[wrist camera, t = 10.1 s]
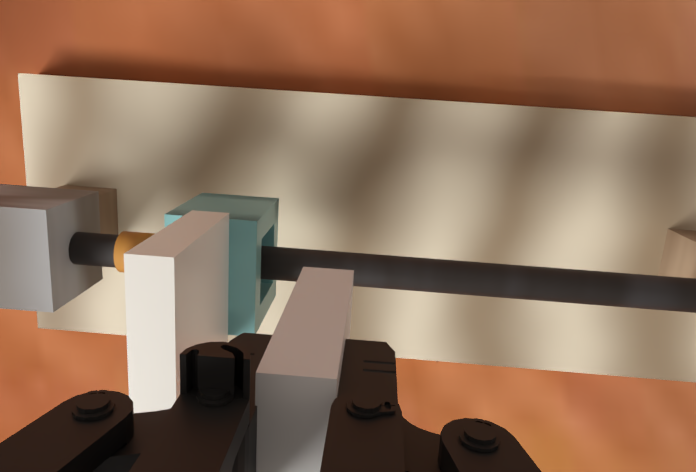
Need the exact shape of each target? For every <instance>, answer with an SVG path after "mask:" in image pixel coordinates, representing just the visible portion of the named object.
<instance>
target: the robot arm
mask: <svg viewBox="0 0 696 472" xmlns="http://www.w3.org/2000/svg"><path fill="white" fill-rule="evenodd" d="M353 278H354V270H343V269H329V268H315V267H303V268H302V271H301V273H300V275H299V277H298V280H297V282H296V284H295V286H294V288H293V291H292V293H291V295H290V297H289V300H288V302H287V304H286V306H285V308H284V311H283V313H282V315H281V317H280V319H279V322H278V324H277V326H276V328H275V331H274V333H273V335H269V334H256V333H242V334H240V335H238V336H237V337H235V338H233V339H232V340H230V341H229V342H206V343H201V344H196V345H194V346H191V347H189V348H186V349H185V350H184V351H183V352H181V353H180V395H179V397H178V398H177V400H176V401H175V403H174V404H173V406H172V407H171V408H170V409H166V410H160V411H152V412H142V413H134V408H133V401H132V400H131V399H130V397H129V396H127V395H125V394H123V393H120V392H115V391H107V390H99V391H97V390H96V391H90V392H87V393H85V394H81V395H77V396H75V397H73V398H71V399H69V400H67V401H64V402H63V403H61V404H60V405H58V406H57V407H55V408H53V409H52V410H50V411H49V412H47V413H46V414H44V415H43V416H41V417H40V418H38V419H37V420H35V421H34V422H32V423H30V424H29V425H27V426H26V427H24V428H23V429H21V430H20V431H18V432H17V433H15V434H14V435H12V436H10V437H9V438H7V439H6V440H4V441H3V442H1V443H0V472H541V471H540V469H539V468H538V467H537V466H536V464H535V463H534V462H533V460H532V459H531V458H530V457H529V455H528V454H527V453H526V451H525V450H524V449H523V448H522V446H521V445H520V444H519V442H518V441H517V440H516V438H515V437H514V436H513V435H511V434H510V433H509V432H508V431H507V430H506V429H504V428H502V427H500V426H498V425H496V424H494V423H492V422H489V421H486V420H485V421H484V420H482V419H469V418H464V419H458V420H453V421H451V422H449V423H448V424H446V425H444V427H443V429H442V431H441V434H440V435H439V434H435V433H432V432H428V431H426V430H423V429H420V428H418V427H416V426H414V425H412V424H411V423H409V422H408V421H407V420H406V419H404V418H403V416H402V411H401V409H400V406H399V404H398V399H397V379H396V359H395V351H394V350H393V349H392V348H391V347H390V346H389V345H388V343H387V342H380V341H367V340H354V339H350V326H351V310H352V294H353Z"/></svg>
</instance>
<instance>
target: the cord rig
mask: <svg viewBox="0 0 696 472" xmlns="http://www.w3.org/2000/svg"><path fill="white" fill-rule="evenodd" d="M18 82H19V94H20V107H21V119H22V132H23V145H24V157H25V170H26V182H27V186H20V185H7V184H0V308H3V309H16V310H28V311H37V321H38V328H44V329H56V330H69V331H81V332H93V333H105V334H117V335H127V329H126V303H125V276H124V253H125V252H127V251H129V250H130V249H132V248H133V247H135V246H136V245H138V244H140V243H141V242H143V241H144V240H146V239H148V238H149V237H151V236H152V235H154V234H155V233H157V232H159V231H160V230H162V229H163V228H165V220H164V214H166V213H168V212H169V211H171V210H173V209H175V208H176V207H178V206H180V205H181V204H183V203H185V202H187V201H188V200H190V199H192V198H194V197H195V196H197V195H199V194H201V193H214V194H228V195H242V196H256V197H270V198H279V210H278V241H277V247H273V246H261V279H268V280H276V296H275V298H274V300H273V302H272V304H271V306H270V308H269V310H268V312H267V314H266V315H265V317H264V319H263V321H262V323H261V325H260V327H259V329H258V331H257V333H256V334H269V335H273V333H274V331H275V328H276V326H277V324H278V322H279V319H280V317H281V315H282V313H283V311H284V308H285V306H286V304H287V302H288V300H289V297H290V295H291V293H292V291H293V288H294V286H295V284H296V282H297V280H298V277H299V275H300V273H301V271H302V268H303V267H315V268H329V269H343V270H354V278H353V294H352V310H351V326H350V339H354V340H367V341H380V342H387V343H388V345H389V346H390V347H391V348H392V349H393V350H394V351H395V358H407V359H419V360H431V361H444V362H456V363H468V364H480V365H492V366H504V367H516V368H528V369H540V370H552V371H565V372H577V373H589V374H601V375H613V376H625V377H637V378H649V379H661V380H673V381H686V382H696V117H689V116H674V115H659V114H643V113H628V112H612V111H597V110H582V109H566V108H551V107H535V106H520V105H505V104H489V103H474V102H458V101H443V100H428V99H412V98H397V97H381V96H366V95H351V94H335V93H320V92H304V91H289V90H274V89H258V88H243V87H227V86H212V85H197V84H181V83H166V82H151V81H135V80H120V79H104V78H89V77H74V76H58V75H43V74H23V73H18ZM235 337H237V336H236V335H228V341H227V342H229V341H230V340H232V339H233V338H235Z"/></svg>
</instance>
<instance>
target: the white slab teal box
mask: <svg viewBox="0 0 696 472" xmlns="http://www.w3.org/2000/svg"><path fill="white" fill-rule="evenodd" d="M278 210H279V198H270V197H256V196H242V195H228V194H214V193H201V194H199V195H197V196H195V197H194V198H192V199H190V200H188V201H187V202H185V203H183V204H181V205H180V206H178V207H176V208H175V209H173V210H171V211H169V212H168V213H166V214H164V220H165V228H163V229H162V230H160V231H159V232H157V233H155V234H154V235H152V236H151V237H149V238H148V239H146V240H144V241H143V242H141V243H140V244H138V245H136V246H135V247H133V248H132V249H130V250H129V251H127V252H125V253H124V276H125V303H126V329H127V356H128V383H129V397H130V399H131V400H132V401H133V408H134V413H142V412H152V411H160V410H166V409H170V408H171V407H172V406H173V404H174V403H175V401H176V400H177V398H178V397H179V395H180V353H181V352H183V351H184V350H185V349H186V348H189V347H191V346H194V345H196V344H201V343H206V342H227V341H228V335H236V336H238V335H240V334H242V333H257V331H258V329H259V327H260V325H261V323H262V321H263V319H264V317H265V315H266V314H267V312H268V310H269V308H270V306H271V304H272V302H273V300H274V298H275V296H276V280H268V279H261V246H273V247H277V241H278Z"/></svg>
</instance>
